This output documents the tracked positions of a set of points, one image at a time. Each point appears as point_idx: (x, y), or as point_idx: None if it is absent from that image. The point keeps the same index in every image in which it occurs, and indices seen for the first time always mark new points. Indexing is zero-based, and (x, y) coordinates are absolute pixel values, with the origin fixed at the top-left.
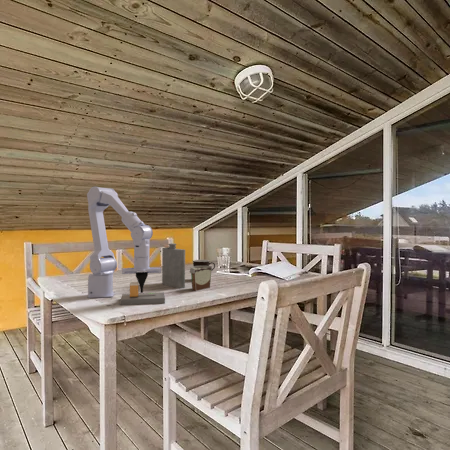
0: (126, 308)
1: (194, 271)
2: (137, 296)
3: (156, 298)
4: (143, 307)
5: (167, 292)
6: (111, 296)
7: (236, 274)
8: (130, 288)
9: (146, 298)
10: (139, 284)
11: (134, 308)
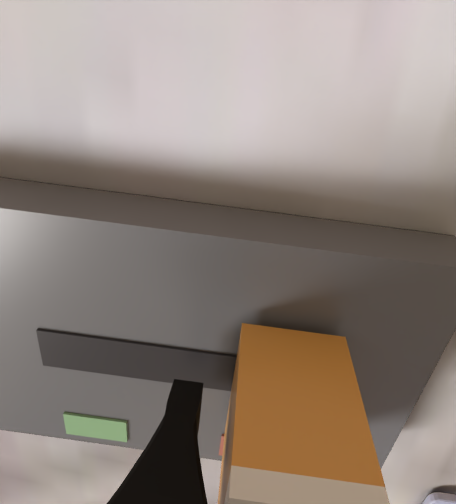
0: (436, 40)
1: None
2: None
3: (4, 208)
4: (197, 30)
5: (2, 490)
6: (442, 496)
7: None
8: (360, 432)
9: (138, 239)
10: (202, 494)
11: (327, 4)
